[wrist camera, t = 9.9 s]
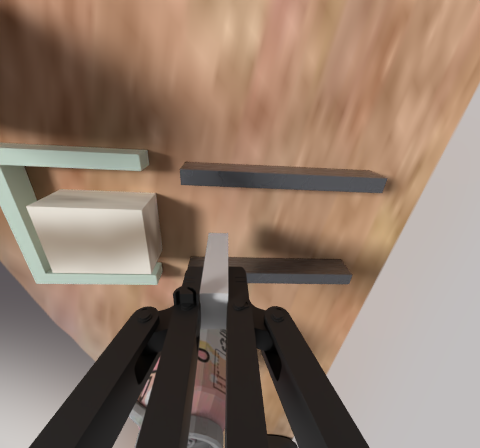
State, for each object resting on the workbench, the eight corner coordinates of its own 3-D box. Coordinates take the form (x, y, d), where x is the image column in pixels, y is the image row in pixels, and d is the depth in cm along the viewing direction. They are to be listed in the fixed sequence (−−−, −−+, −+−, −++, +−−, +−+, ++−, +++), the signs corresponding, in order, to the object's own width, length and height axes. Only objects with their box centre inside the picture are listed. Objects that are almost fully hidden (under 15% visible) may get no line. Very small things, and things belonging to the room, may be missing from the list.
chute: (338, 268, 25) (349, 284, 23) (191, 265, 24) (187, 282, 22) (369, 170, 20) (387, 178, 18) (185, 161, 19) (179, 169, 17)
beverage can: (182, 353, 30) (158, 486, 20) (141, 315, 27) (83, 453, 16) (243, 328, 29) (252, 459, 18) (207, 284, 25) (191, 416, 14)
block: (163, 248, 23) (151, 274, 19) (80, 246, 22) (52, 272, 19) (156, 191, 20) (141, 210, 17) (62, 188, 20) (25, 206, 16)
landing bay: (162, 271, 24) (157, 284, 22) (50, 269, 23) (36, 283, 21) (147, 149, 18) (138, 154, 16) (-2, 142, 17) (-27, 146, 16)
